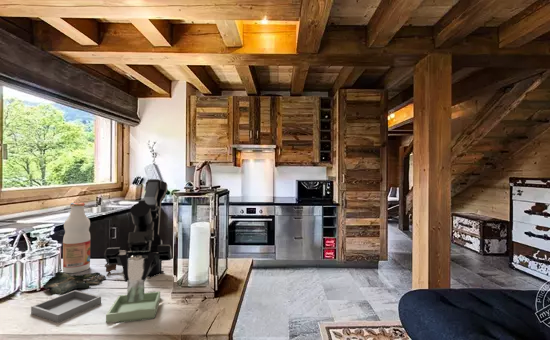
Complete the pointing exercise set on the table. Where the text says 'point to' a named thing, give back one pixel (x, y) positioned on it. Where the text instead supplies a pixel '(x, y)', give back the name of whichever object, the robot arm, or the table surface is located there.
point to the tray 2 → (134, 308)
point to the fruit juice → (76, 240)
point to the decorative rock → (72, 282)
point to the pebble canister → (135, 278)
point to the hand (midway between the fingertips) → (135, 280)
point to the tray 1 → (65, 305)
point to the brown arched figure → (110, 267)
